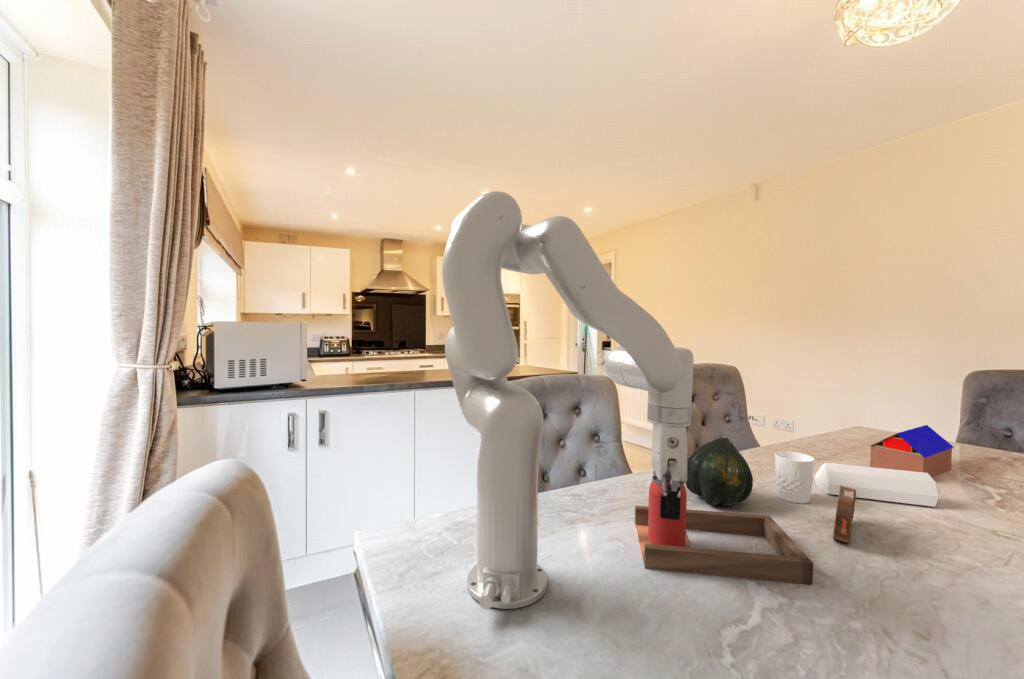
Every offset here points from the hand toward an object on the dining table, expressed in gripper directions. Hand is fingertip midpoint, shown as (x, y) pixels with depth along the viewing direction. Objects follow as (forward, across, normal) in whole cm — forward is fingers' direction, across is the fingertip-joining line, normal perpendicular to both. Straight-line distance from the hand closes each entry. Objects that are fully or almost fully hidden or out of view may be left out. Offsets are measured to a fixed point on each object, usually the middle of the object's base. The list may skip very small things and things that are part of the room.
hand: (664, 506), depth 80 cm
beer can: (+7, 0, -1) cm, 7 cm away
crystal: (+6, +33, -53) cm, 63 cm away
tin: (+7, +12, -36) cm, 38 cm away
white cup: (+6, +28, -34) cm, 45 cm away
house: (+5, +57, -76) cm, 95 cm away
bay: (+7, 0, -8) cm, 11 cm away
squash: (+7, +24, -16) cm, 30 cm away
